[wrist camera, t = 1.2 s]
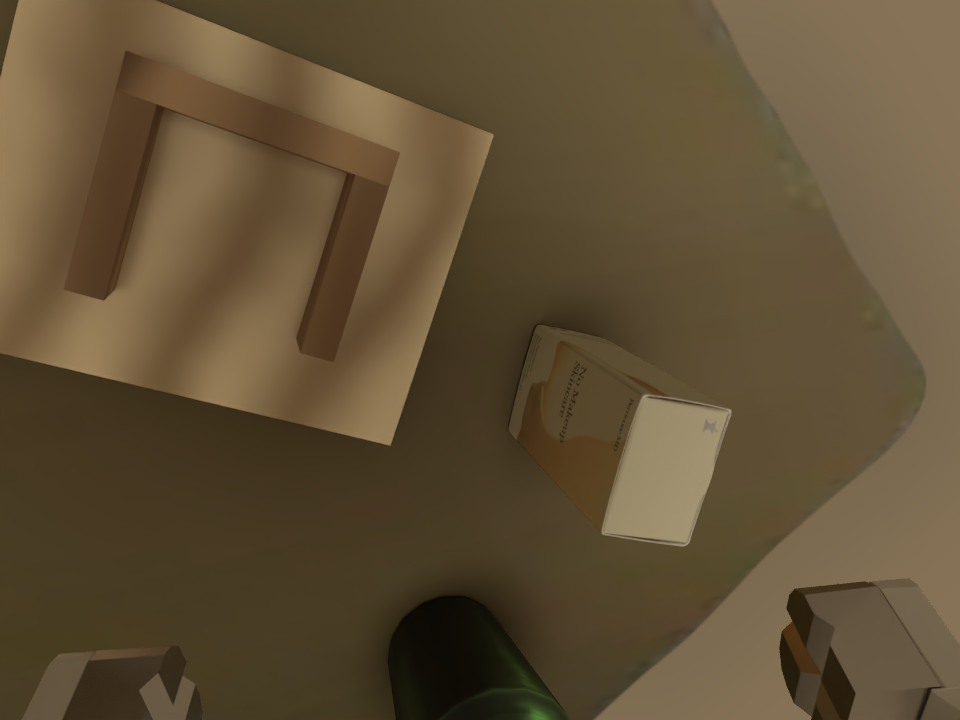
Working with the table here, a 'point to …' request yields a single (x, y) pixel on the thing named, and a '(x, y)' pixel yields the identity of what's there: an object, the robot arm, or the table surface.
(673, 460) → the skincare box
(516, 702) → the potion bottle
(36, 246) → the u rest
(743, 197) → the table surface
